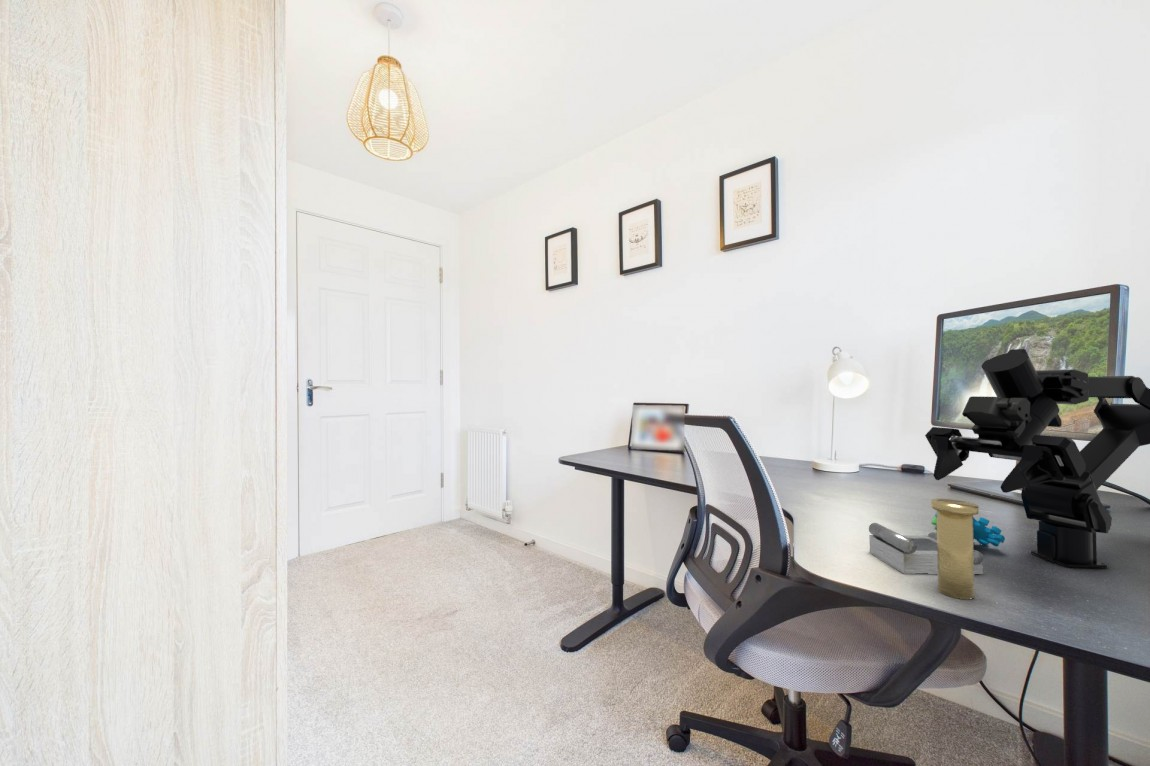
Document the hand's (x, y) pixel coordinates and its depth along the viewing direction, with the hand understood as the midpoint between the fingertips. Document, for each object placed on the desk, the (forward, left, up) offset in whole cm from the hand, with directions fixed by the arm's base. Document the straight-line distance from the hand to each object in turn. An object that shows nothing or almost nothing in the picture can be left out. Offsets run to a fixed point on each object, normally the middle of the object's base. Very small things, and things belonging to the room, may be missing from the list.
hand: (967, 483), depth 69 cm
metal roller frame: (+3, -6, -15) cm, 16 cm away
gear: (-11, -15, -15) cm, 24 cm away
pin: (+6, +5, -15) cm, 17 cm away
